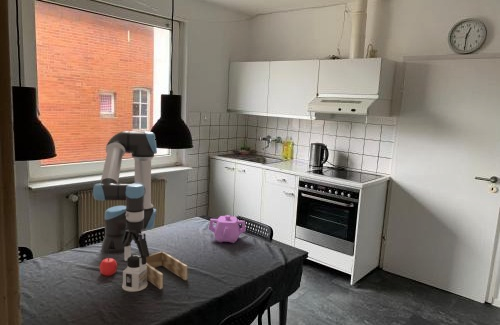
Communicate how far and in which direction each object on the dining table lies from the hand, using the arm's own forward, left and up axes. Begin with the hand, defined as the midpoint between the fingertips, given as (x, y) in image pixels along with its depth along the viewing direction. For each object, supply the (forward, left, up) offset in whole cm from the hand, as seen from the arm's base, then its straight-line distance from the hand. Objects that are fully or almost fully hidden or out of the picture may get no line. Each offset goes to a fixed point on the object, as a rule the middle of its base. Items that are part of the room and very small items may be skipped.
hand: (135, 265), depth 168 cm
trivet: (0, 0, -10) cm, 10 cm away
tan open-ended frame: (0, +14, -10) cm, 17 cm away
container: (0, 0, -9) cm, 9 cm away
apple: (-18, -4, -10) cm, 21 cm away
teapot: (-16, +69, -10) cm, 72 cm away
